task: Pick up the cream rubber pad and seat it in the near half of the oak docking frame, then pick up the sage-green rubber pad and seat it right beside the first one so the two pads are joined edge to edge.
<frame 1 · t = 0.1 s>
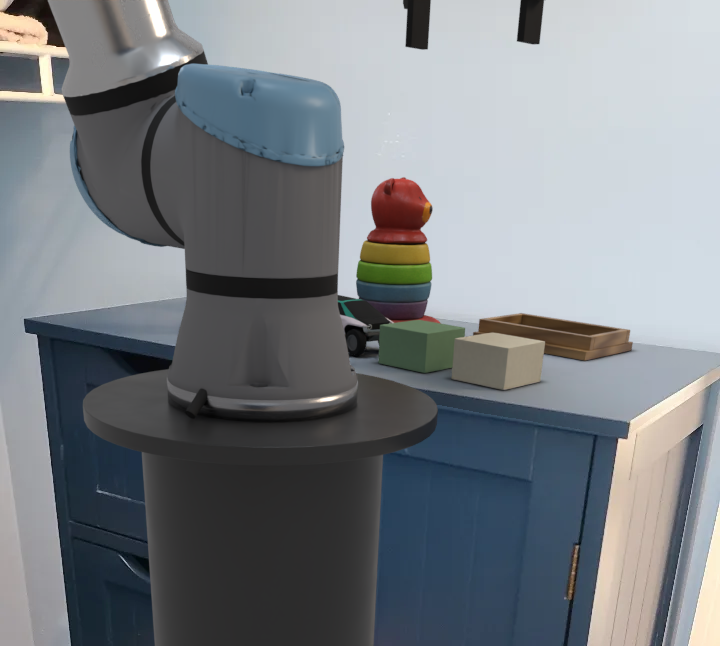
hand: (469, 46, 93), 30 cm above the table, tool pointing down, fingers open, 13 cm apart
dock: (551, 345, 117), on the table
cream pad: (496, 380, 97), on the table
can: (223, 333, 116), on the table
stacking bear: (393, 335, 120), on the table
toy car: (346, 348, 110), on the table
sage pad: (420, 364, 102), on the table
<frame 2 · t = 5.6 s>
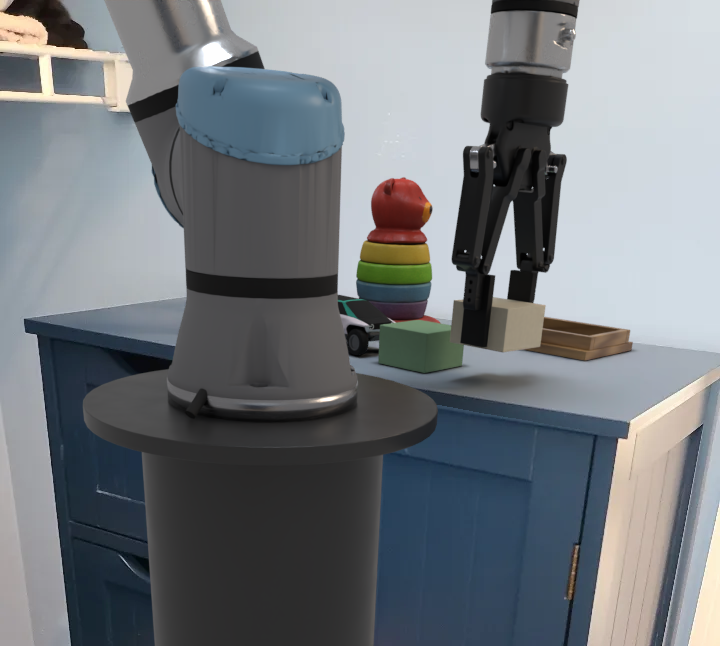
hand: (495, 341, 95), 4 cm above the table, tool pointing down, fingers closed on cream pad, 6 cm apart
cream pad: (495, 344, 95), point 4 cm above the table, touching gripper
everything else where it was.
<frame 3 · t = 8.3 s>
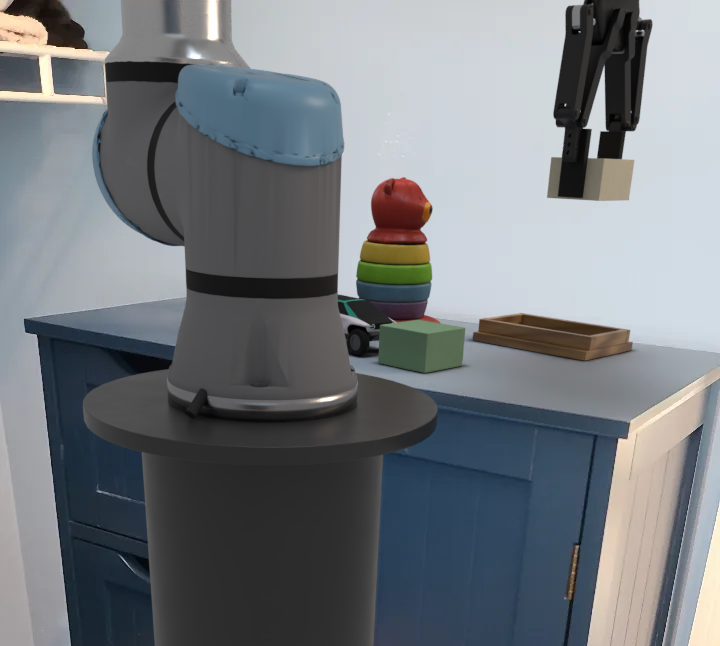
hand: (587, 196, 104), 17 cm above the table, tool pointing down, fingers closed on cream pad, 6 cm apart
cream pad: (587, 199, 104), point 17 cm above the table, touching gripper
everything else where it was.
when the fingers open (3 cm above the table, at t = 11.4 s): cream pad drops 1 cm, resting on dock.
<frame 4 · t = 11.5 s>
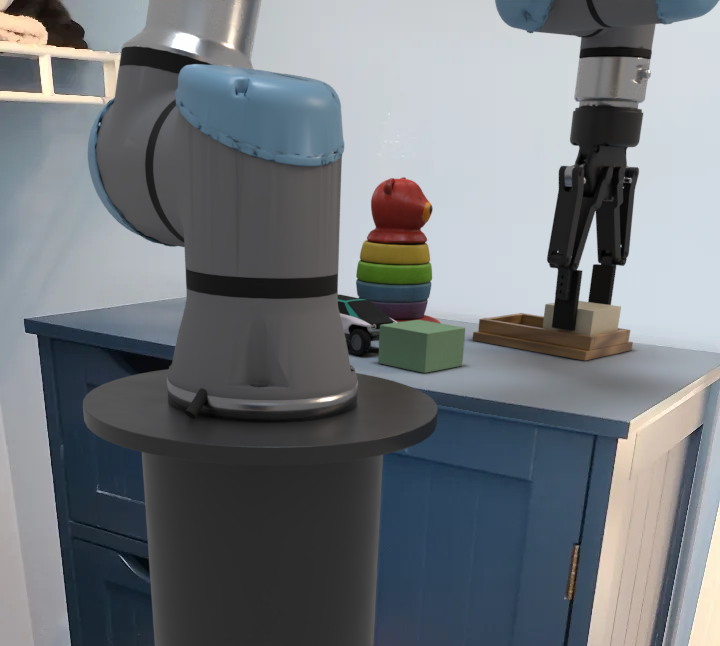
hand: (580, 325, 114), 3 cm above the table, tool pointing down, fingers open, 7 cm apart
cream pad: (578, 340, 114), point 1 cm above the table, touching dock
everything else where it was.
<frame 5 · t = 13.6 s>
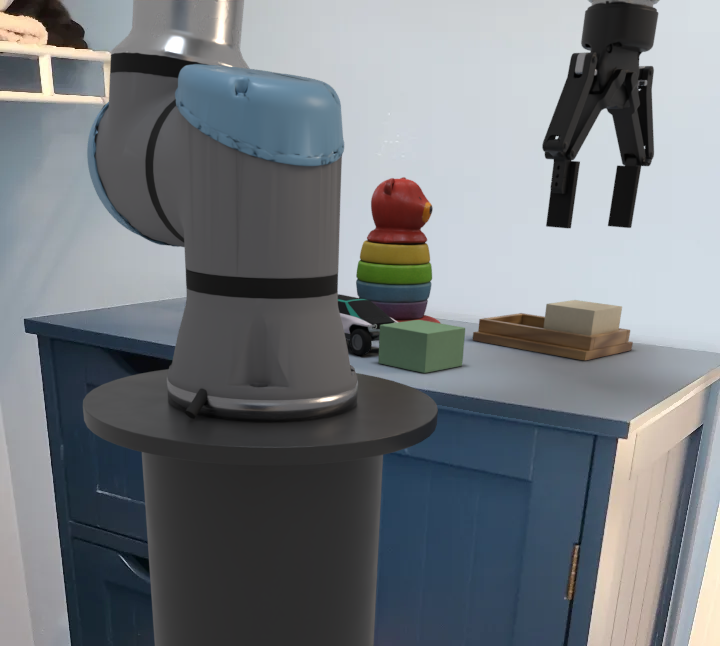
hand: (590, 227, 108), 14 cm above the table, tool pointing down, fingers open, 13 cm apart
nothing on the table moved.
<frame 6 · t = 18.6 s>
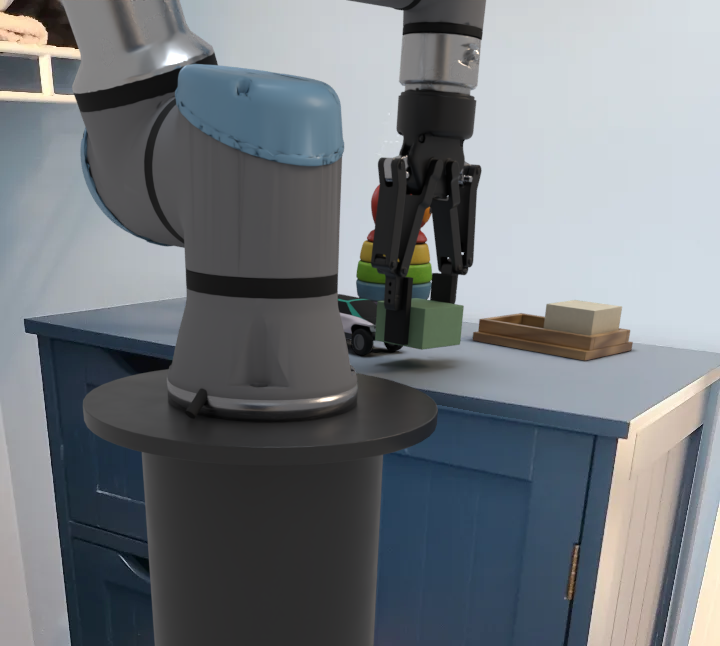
hand: (417, 339, 101), 3 cm above the table, tool pointing down, fingers closed on sage pad, 6 cm apart
sage pad: (417, 342, 101), point 2 cm above the table, touching gripper
everything else where it was.
when the fingers open (3 cm above the table, at t = 25.0 s): sage pad drops 1 cm, resting on dock.
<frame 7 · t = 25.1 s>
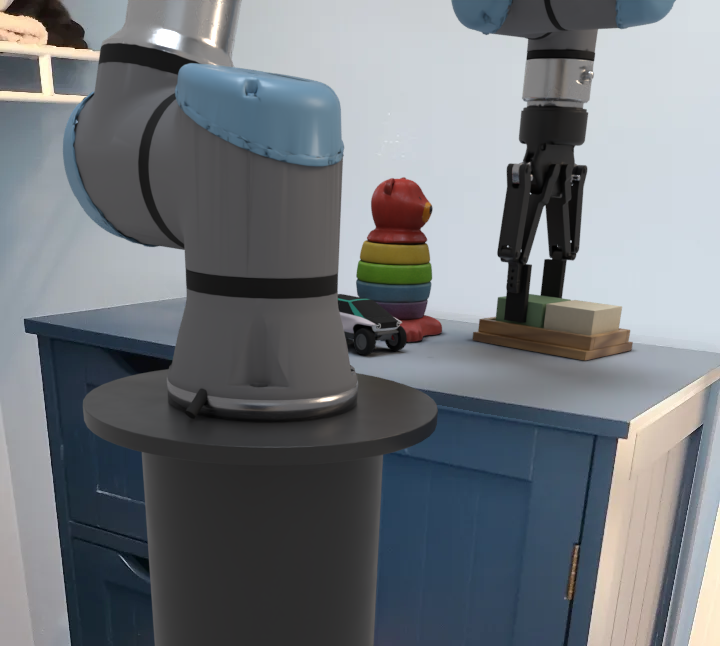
hand: (532, 317, 118), 3 cm above the table, tool pointing down, fingers open, 7 cm apart
sage pad: (530, 332, 118), point 1 cm above the table, touching dock
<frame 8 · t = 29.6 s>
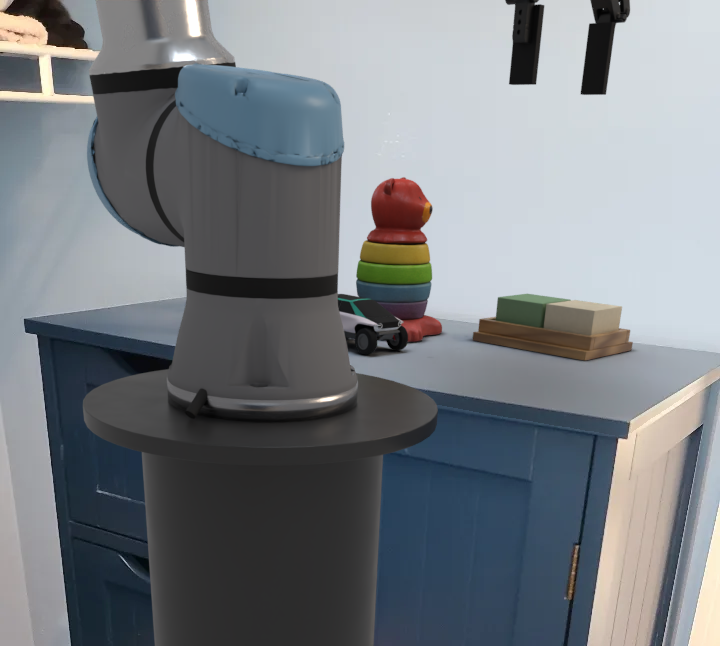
hand: (559, 90, 98), 27 cm above the table, tool pointing down, fingers open, 13 cm apart
at the end: cream pad 0.5 cm from the target spot on the dock, point 1.1 cm above the dock's base; sage pad 0.3 cm from the target spot on the dock, point 1.1 cm above the dock's base; sage pad 6.9 cm from the cream pad (horizontally) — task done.
